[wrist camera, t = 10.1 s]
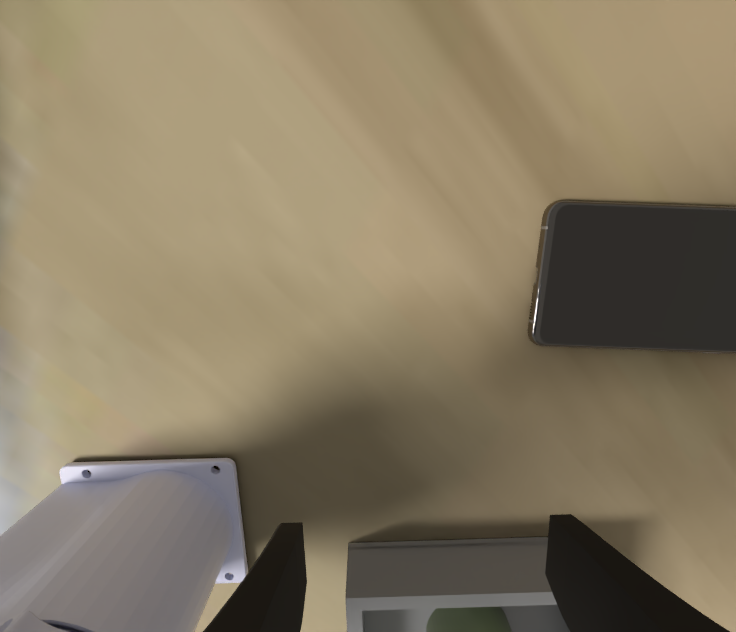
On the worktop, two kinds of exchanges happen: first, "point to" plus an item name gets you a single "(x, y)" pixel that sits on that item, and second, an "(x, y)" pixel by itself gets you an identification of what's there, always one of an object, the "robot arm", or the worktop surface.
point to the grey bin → (449, 583)
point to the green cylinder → (468, 620)
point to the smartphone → (636, 277)
